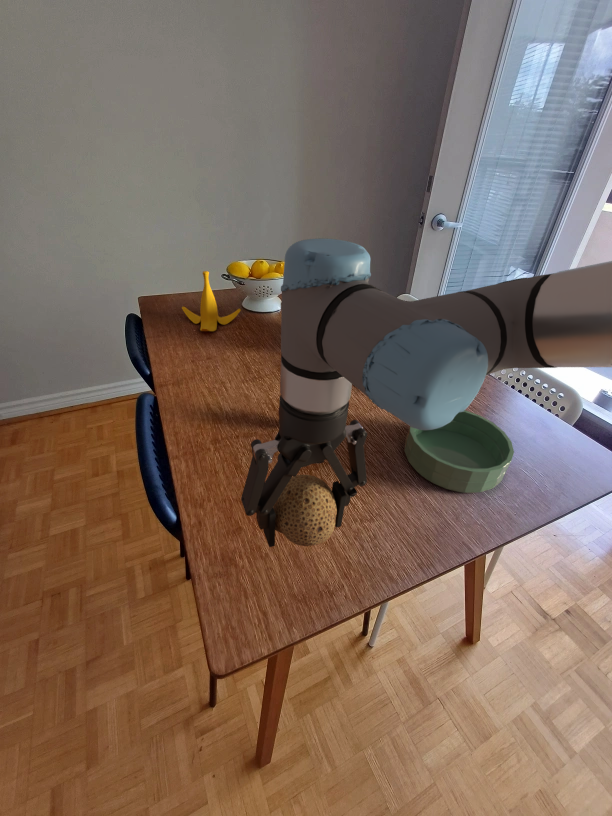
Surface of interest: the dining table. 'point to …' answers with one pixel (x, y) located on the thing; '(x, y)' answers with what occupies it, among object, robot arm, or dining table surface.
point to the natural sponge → (306, 511)
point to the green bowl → (461, 453)
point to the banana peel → (208, 309)
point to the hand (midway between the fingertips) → (302, 528)
